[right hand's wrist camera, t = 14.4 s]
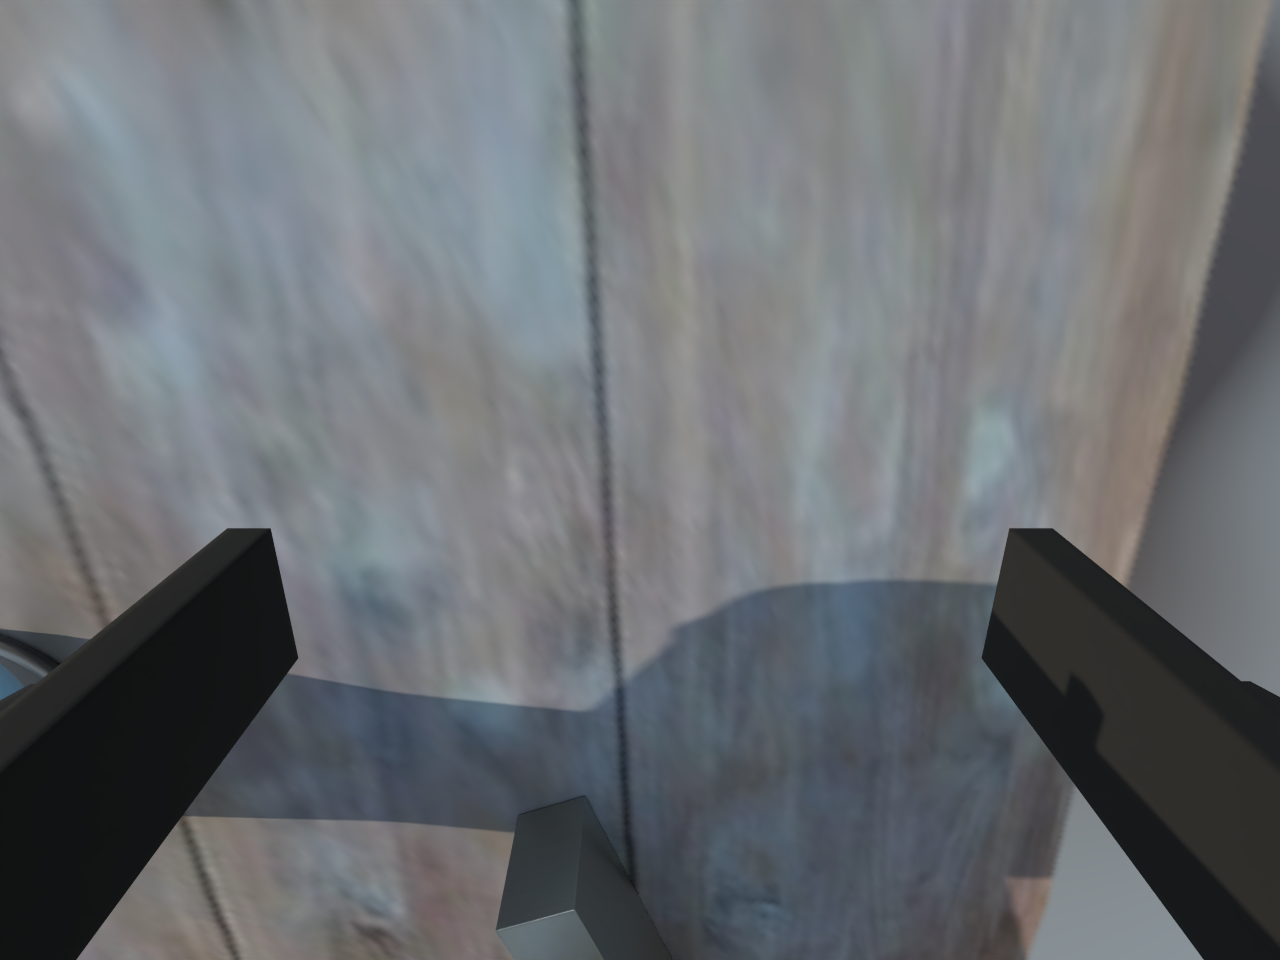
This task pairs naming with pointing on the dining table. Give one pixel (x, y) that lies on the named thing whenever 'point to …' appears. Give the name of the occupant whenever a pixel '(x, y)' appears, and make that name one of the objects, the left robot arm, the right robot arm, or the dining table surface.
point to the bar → (571, 893)
